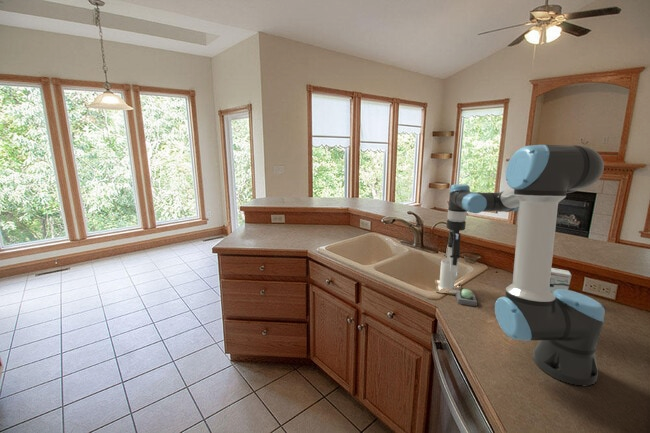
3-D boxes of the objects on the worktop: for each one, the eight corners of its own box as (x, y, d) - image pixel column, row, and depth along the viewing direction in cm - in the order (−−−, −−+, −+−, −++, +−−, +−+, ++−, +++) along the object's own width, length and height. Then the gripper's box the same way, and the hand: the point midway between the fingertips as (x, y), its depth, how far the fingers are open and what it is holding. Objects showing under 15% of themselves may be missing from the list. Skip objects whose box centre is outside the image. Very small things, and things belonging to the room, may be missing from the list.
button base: (476, 306, 124) (477, 301, 123) (457, 303, 126) (458, 299, 125) (473, 298, 130) (473, 293, 130) (455, 295, 132) (456, 291, 132)
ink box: (542, 295, 134) (547, 270, 131) (540, 290, 138) (545, 266, 135) (566, 300, 130) (572, 274, 127) (564, 295, 134) (569, 270, 131)
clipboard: (463, 296, 131) (463, 293, 131) (436, 292, 134) (436, 290, 134) (459, 283, 144) (459, 281, 143) (434, 280, 147) (435, 278, 146)
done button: (472, 300, 125) (473, 294, 125) (461, 298, 126) (462, 292, 126) (470, 295, 129) (471, 289, 128) (460, 294, 130) (461, 288, 129)
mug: (446, 291, 134) (449, 265, 131) (435, 285, 140) (437, 260, 137) (463, 287, 138) (466, 262, 136) (451, 281, 144) (454, 257, 142)
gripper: (470, 227, 119) (464, 277, 123) (461, 214, 142) (456, 257, 147) (450, 225, 121) (445, 275, 125) (444, 213, 144) (440, 256, 149)
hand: (451, 266), depth 136 cm, fingers open, 13 cm apart
